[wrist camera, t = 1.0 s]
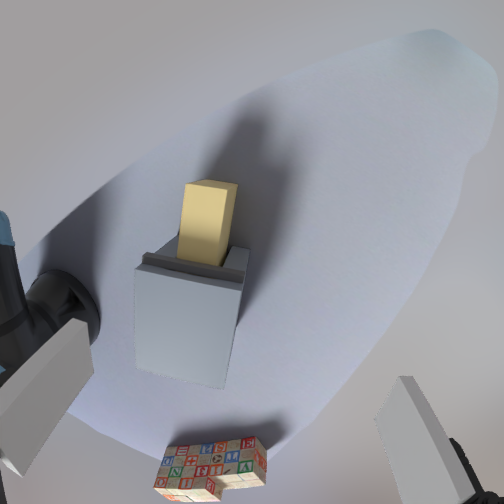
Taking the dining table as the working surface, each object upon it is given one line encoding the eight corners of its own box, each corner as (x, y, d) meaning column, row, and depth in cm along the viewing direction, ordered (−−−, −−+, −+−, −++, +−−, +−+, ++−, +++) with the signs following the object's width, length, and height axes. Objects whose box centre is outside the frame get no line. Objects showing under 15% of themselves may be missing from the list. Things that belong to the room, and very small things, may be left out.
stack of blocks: (256, 434, 49) (252, 485, 37) (267, 450, 50) (266, 497, 39) (166, 446, 52) (152, 488, 40) (180, 461, 54) (169, 501, 42)
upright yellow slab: (193, 280, 40) (172, 314, 31) (207, 179, 36) (185, 183, 27) (221, 286, 40) (207, 322, 31) (238, 184, 36) (227, 189, 27)
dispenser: (169, 313, 42) (135, 368, 29) (177, 229, 38) (135, 260, 25) (235, 327, 42) (223, 389, 29) (251, 243, 38) (243, 282, 25)
